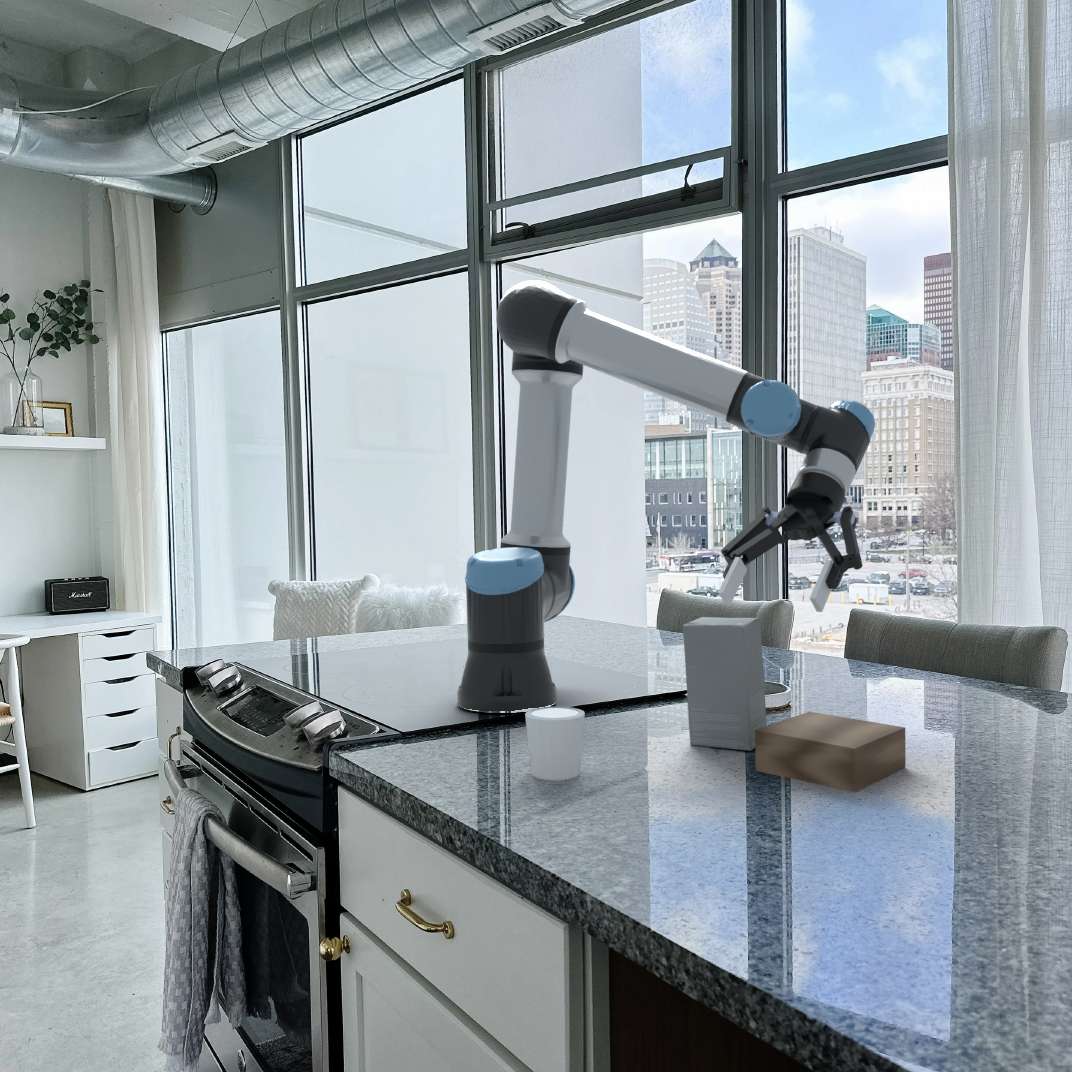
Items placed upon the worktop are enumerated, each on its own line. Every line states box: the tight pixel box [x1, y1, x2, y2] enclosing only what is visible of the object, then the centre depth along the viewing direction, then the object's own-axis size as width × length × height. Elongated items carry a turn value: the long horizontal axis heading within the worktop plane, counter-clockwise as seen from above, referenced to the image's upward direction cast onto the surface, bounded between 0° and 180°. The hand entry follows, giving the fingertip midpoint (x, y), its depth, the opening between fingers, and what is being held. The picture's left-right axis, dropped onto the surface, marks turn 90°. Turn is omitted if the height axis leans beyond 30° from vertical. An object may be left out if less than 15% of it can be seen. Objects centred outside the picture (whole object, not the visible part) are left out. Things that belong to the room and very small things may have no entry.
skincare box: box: [682, 616, 768, 752], centre depth 119 cm, size 8×7×16 cm
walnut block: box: [754, 711, 906, 793], centre depth 108 cm, size 12×12×5 cm
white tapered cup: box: [524, 706, 586, 781], centre depth 108 cm, size 7×7×7 cm
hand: (768, 602), depth 127 cm, fingers open, 13 cm apart
